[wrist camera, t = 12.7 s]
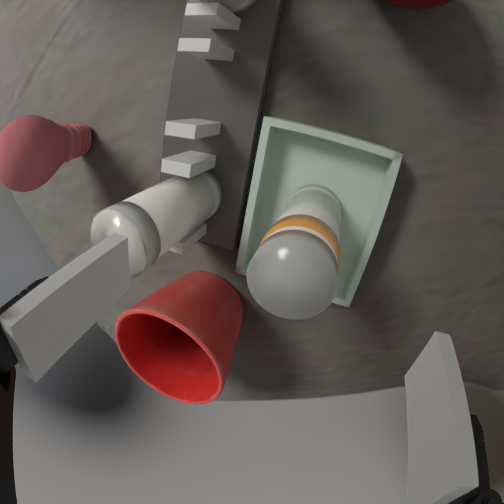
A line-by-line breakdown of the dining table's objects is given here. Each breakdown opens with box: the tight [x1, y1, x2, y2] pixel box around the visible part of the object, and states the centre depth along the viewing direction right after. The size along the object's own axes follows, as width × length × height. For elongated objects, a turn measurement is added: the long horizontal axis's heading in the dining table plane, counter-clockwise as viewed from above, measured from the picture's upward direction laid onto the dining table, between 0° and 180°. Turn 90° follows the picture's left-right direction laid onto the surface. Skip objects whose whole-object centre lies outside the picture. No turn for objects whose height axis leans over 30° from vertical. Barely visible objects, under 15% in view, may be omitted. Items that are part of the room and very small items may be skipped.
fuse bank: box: [160, 0, 284, 254], centre depth 21 cm, size 27×8×6 cm, turn 170°
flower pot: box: [115, 272, 243, 404], centre depth 28 cm, size 11×11×10 cm
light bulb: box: [0, 115, 92, 192], centre depth 23 cm, size 7×7×12 cm
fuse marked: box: [247, 184, 342, 320], centre depth 20 cm, size 5×5×11 cm
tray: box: [235, 116, 403, 308], centre depth 24 cm, size 13×10×2 cm
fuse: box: [91, 171, 223, 279], centre depth 22 cm, size 4×4×11 cm
